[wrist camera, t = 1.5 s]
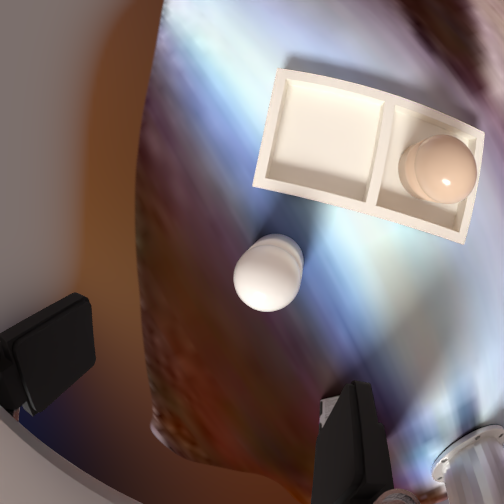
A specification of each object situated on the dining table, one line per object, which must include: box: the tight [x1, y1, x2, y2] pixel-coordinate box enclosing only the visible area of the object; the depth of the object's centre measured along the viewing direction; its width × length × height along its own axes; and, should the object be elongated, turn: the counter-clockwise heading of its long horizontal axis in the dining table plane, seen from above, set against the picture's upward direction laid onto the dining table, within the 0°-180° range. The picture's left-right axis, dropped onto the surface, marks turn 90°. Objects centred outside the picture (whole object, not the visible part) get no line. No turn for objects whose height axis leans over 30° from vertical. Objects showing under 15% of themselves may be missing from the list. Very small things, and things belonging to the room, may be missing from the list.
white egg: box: [234, 234, 304, 312], centre depth 21 cm, size 5×5×7 cm
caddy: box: [252, 68, 485, 245], centre depth 20 cm, size 18×10×2 cm, turn 79°
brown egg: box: [398, 134, 477, 204], centre depth 16 cm, size 5×5×7 cm
